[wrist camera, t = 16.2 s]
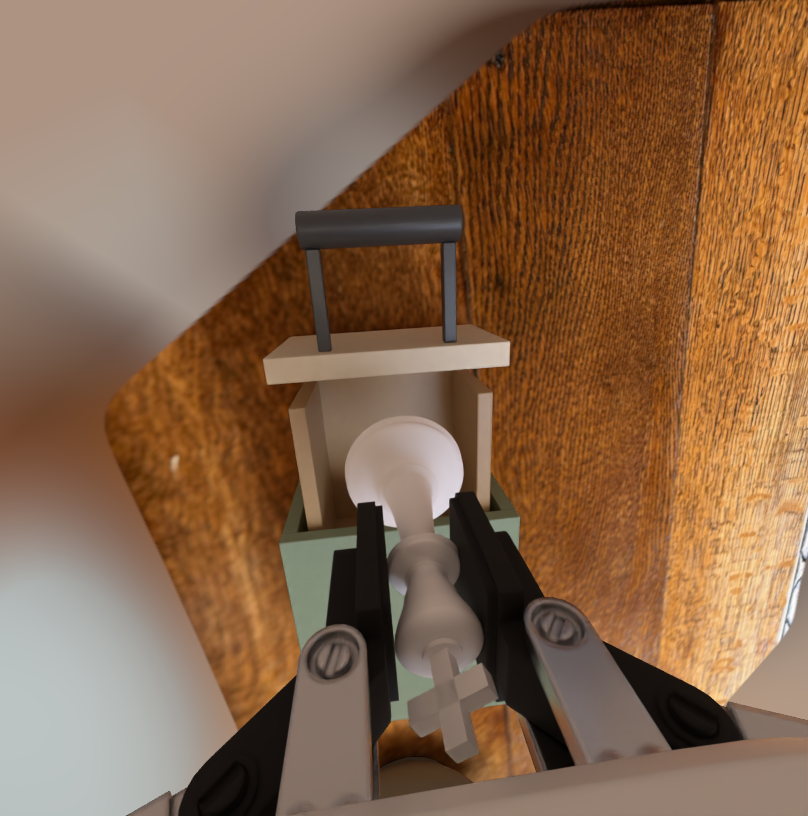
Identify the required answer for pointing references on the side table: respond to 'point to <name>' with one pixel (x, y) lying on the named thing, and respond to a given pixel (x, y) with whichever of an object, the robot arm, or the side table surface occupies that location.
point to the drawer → (383, 364)
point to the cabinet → (311, 577)
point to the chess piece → (425, 571)
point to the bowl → (417, 777)
